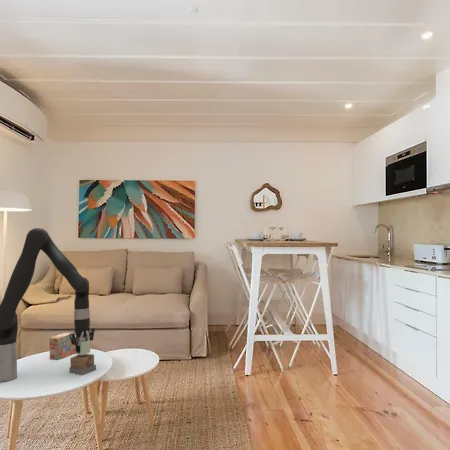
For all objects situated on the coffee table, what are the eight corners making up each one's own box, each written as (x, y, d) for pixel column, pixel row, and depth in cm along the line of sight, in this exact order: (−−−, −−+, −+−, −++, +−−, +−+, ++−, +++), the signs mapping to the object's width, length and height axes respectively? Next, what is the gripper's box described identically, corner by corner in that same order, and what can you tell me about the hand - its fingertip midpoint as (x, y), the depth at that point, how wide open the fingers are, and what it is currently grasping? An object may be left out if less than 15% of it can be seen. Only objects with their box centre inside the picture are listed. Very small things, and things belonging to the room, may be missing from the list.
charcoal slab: (81, 376, 202) (81, 370, 202) (69, 373, 206) (69, 367, 206) (96, 370, 209) (96, 364, 209) (84, 368, 214) (83, 362, 214)
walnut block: (84, 369, 203) (84, 359, 203) (70, 368, 205) (70, 358, 205) (94, 364, 210) (94, 354, 211) (80, 363, 213) (80, 353, 213)
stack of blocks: (76, 349, 250) (76, 328, 250) (85, 350, 248) (84, 329, 248) (49, 359, 230) (49, 337, 230) (58, 360, 228) (57, 338, 228)
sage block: (82, 355, 205) (81, 342, 205) (75, 353, 207) (75, 341, 207) (90, 352, 209) (90, 340, 209) (83, 351, 211) (83, 339, 212)
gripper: (88, 314, 216) (89, 346, 216) (65, 319, 204) (65, 354, 204) (98, 315, 212) (99, 348, 212) (74, 320, 200) (75, 356, 200)
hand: (82, 351), depth 208 cm, fingers closed on sage block, 5 cm apart
